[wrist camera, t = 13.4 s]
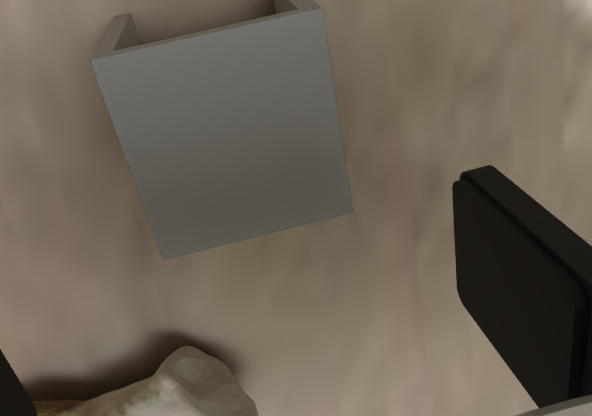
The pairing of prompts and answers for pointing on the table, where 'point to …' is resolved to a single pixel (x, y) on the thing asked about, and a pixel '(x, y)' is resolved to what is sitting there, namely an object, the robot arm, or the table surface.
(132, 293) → the table surface
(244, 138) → the arch cover
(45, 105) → the table surface
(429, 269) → the table surface
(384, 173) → the table surface
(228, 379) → the ceramic sculpture
